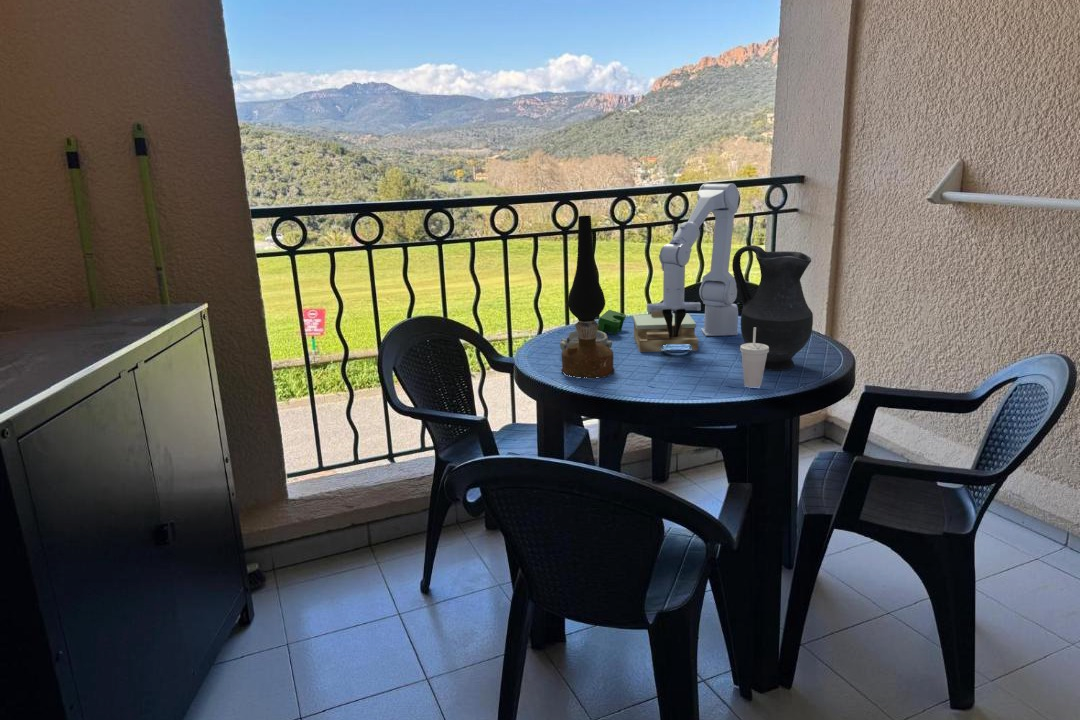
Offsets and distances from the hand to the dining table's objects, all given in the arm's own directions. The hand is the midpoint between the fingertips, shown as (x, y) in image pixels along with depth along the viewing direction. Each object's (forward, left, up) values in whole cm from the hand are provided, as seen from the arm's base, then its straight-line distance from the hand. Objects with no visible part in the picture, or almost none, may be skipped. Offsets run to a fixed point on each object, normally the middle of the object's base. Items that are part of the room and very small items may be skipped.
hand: (673, 336), depth 188 cm
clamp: (+16, -22, -4) cm, 27 cm away
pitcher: (-22, +16, -4) cm, 27 cm away
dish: (+24, 0, -4) cm, 25 cm away
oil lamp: (+24, +18, -4) cm, 30 cm away
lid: (+1, -9, 0) cm, 9 cm away
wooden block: (+4, 0, 0) cm, 4 cm away
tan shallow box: (+1, -7, -4) cm, 8 cm away
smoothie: (-14, +33, -4) cm, 36 cm away
